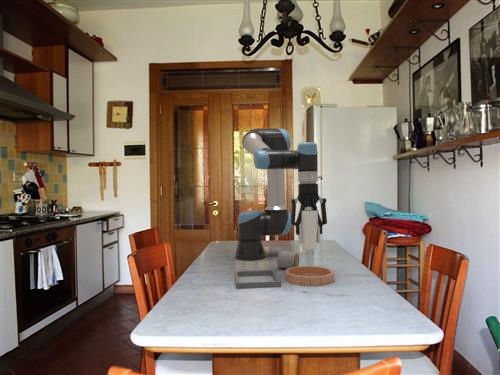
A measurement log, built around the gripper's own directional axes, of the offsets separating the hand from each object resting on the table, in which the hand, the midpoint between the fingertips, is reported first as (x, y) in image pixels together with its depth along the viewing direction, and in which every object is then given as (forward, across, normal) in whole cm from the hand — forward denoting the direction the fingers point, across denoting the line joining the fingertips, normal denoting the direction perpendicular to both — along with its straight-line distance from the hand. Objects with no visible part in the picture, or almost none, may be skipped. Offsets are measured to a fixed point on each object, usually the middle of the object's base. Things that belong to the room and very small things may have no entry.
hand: (309, 242), depth 143 cm
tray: (+14, -20, 0) cm, 25 cm away
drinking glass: (+3, 0, 0) cm, 3 cm away
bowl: (+14, 0, 0) cm, 14 cm away
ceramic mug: (+14, -4, +20) cm, 25 cm away
